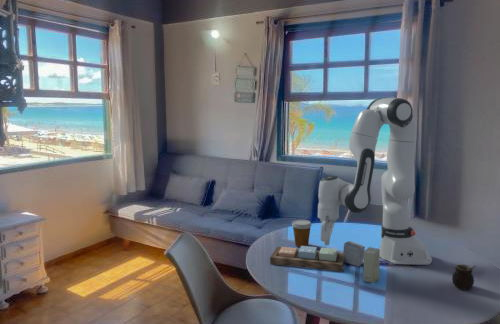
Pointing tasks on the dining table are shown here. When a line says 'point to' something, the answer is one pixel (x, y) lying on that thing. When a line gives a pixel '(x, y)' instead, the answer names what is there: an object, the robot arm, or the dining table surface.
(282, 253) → the tile three
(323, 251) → the tile one
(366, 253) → the skincare box
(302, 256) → the tile two
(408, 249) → the robot arm
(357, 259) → the medicine box
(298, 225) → the disposable coffee cup
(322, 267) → the key frame
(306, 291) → the dining table surface
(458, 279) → the mate gourd
